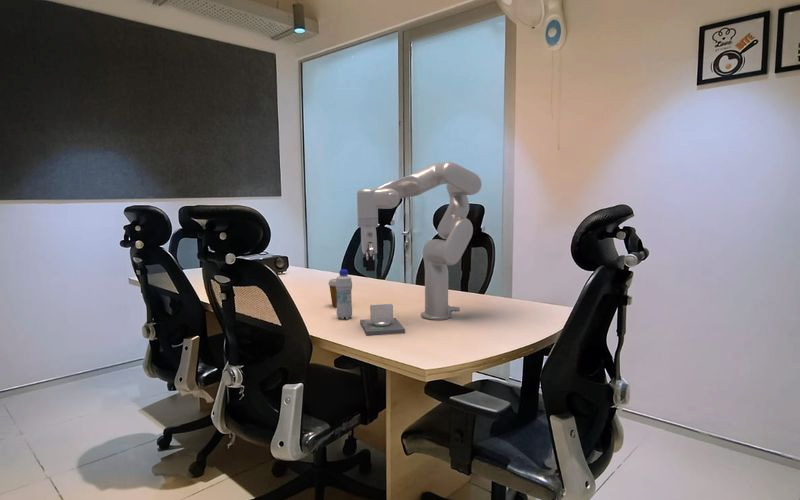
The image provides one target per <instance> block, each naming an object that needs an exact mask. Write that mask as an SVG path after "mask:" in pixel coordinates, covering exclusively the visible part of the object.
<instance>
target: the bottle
mask: <svg viewBox="0 0 800 500" xmlns="http://www.w3.org/2000/svg"><path fill="white" fill-rule="evenodd" d="M338 274H339V276H336V278H335V279H336V290H337V308H336V316H337V318H338V319H339V320H344V319H346V320H348V319H351V318H352V317H353V316H352V315H353V305H352V289H353V282H352V277H351V276H349V272H348V270H347V269H340V270H339V273H338Z"/></svg>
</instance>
